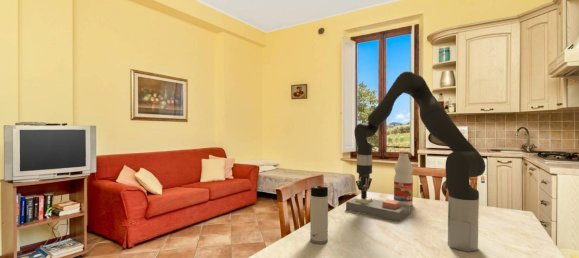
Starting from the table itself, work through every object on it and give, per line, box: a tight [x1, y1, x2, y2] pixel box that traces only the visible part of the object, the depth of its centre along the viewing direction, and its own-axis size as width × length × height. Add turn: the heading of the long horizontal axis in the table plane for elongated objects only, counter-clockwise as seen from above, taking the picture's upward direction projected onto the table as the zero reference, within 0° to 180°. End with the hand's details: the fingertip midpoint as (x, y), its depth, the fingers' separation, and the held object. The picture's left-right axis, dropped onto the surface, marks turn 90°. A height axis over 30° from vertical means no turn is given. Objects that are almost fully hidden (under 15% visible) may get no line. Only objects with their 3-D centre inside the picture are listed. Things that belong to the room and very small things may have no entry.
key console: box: [345, 197, 411, 222], centre depth 145 cm, size 14×26×4 cm, turn 49°
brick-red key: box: [382, 199, 400, 209], centre depth 140 cm, size 6×6×4 cm
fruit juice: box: [393, 150, 414, 207], centre depth 159 cm, size 9×9×28 cm
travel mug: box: [309, 186, 329, 245], centre depth 109 cm, size 6×7×20 cm
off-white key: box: [355, 196, 373, 204], centre depth 149 cm, size 6×6×4 cm
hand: (363, 198), depth 150 cm, fingers closed
